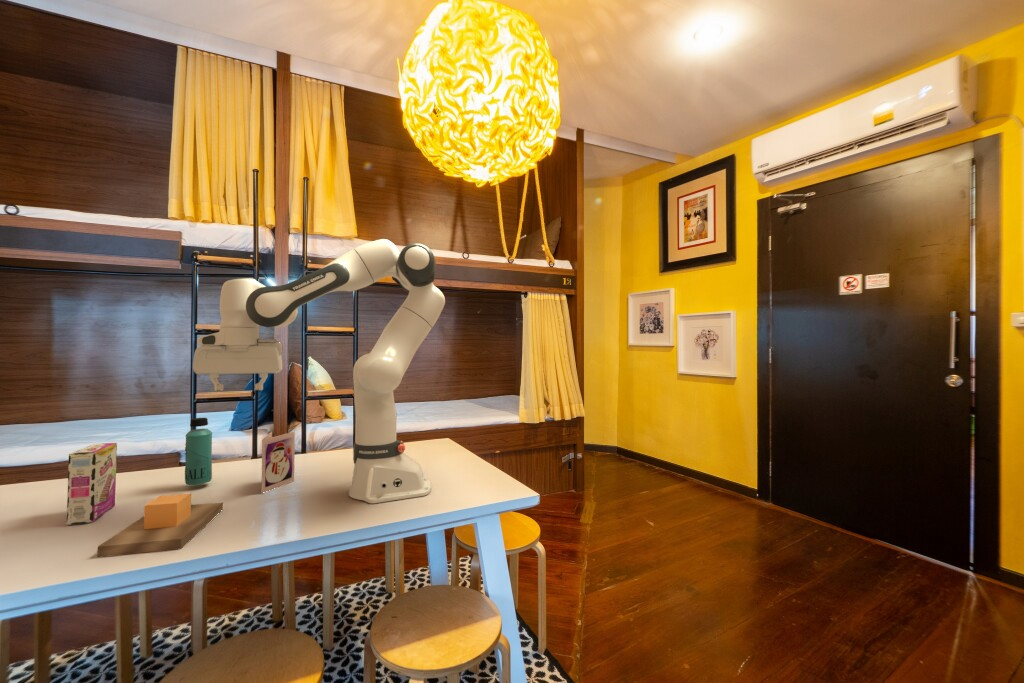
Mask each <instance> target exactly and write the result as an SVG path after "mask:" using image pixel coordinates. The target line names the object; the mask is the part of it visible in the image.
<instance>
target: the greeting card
mask: <svg viewBox="0 0 1024 683" xmlns="http://www.w3.org/2000/svg"><path fill="white" fill-rule="evenodd" d="M295 434H296V432H295V431H291V432H287V433H284V434H280V435H275V436H273V431H271V432H270V433H269V434H267V435H265V437H264V438H262V439H261V494H262V493H263V492H265V493H267V492H266V491H268V492H270V491H272V489H273V490H275V489H274V488H276V489H277V487H278V488H280V486H281V487H283V486H286V485H288V484H290V483H293V482H295V451H296V450H295V446H296V445H295V442H296V441H295V437H296V435H295ZM285 484H286V485H285ZM282 485H283V486H282ZM269 490H270V491H269ZM263 494H264V493H263Z"/></svg>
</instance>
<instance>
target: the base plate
mask: <svg viewBox="0 0 1024 683" xmlns="http://www.w3.org/2000/svg"><path fill="white" fill-rule="evenodd" d="M221 510H223V511H224V502H211V503H199V504H198V503H197V504H191V515H190V516H189V517H188V518H187V519H185V520H184V521H183V522H182V523H180V524H179V525H178V526H174V527H163V528H152V529H144V515H143V516H142V517H140V518H138V519H137V520H136V521H134V522H133V523H131V524H129V525H128V526H127V527H125V528H124V529H122V530H121V531H119V532H117V533H116V534H115V535H113V536H111V537H110V538H109V539H107V540H106V541H104V542H102V543H101V544H100V545H98V546H97V551H96V552H97V555H96V556H97V558H100V556H103V557H109V556H108V555H113V556H121V555H132V554H141V553H142V554H144V553H149V552H150V553H151V552H162V551H161V550H163V551H171V549H173V550H179V549H178V548H181V549H182V548H184V547H185V546H186V545H187V544H188V543H189V542H190V541H191V540H192V539H194V538H195V537H196V536H195V535H196V534H197V533H198V532H199V531H200V530H201V531H202V530H203V529H204V528H206V527H207V526H208V525H209V524H210V523H211V522H212V521H213V520H214V519H215V518H216V517H217V516H218V515H217V514H218V513H220V512H221ZM221 513H222V512H221ZM221 513H220V514H221ZM216 515H217V516H216ZM215 516H216V517H215ZM214 517H215V518H214ZM213 518H214V519H213ZM212 519H213V520H212ZM211 520H212V521H211ZM210 521H211V522H210ZM209 522H210V523H209ZM208 523H209V524H208ZM207 524H208V525H207ZM206 525H207V526H206ZM201 531H200V532H201ZM200 532H199V533H200ZM199 533H198V534H199ZM198 534H197V535H198ZM189 540H190V541H189ZM188 541H189V542H188ZM187 542H188V543H187ZM186 543H187V544H186ZM185 544H186V545H185ZM184 545H185V546H184ZM183 546H184V547H183Z"/></svg>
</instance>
